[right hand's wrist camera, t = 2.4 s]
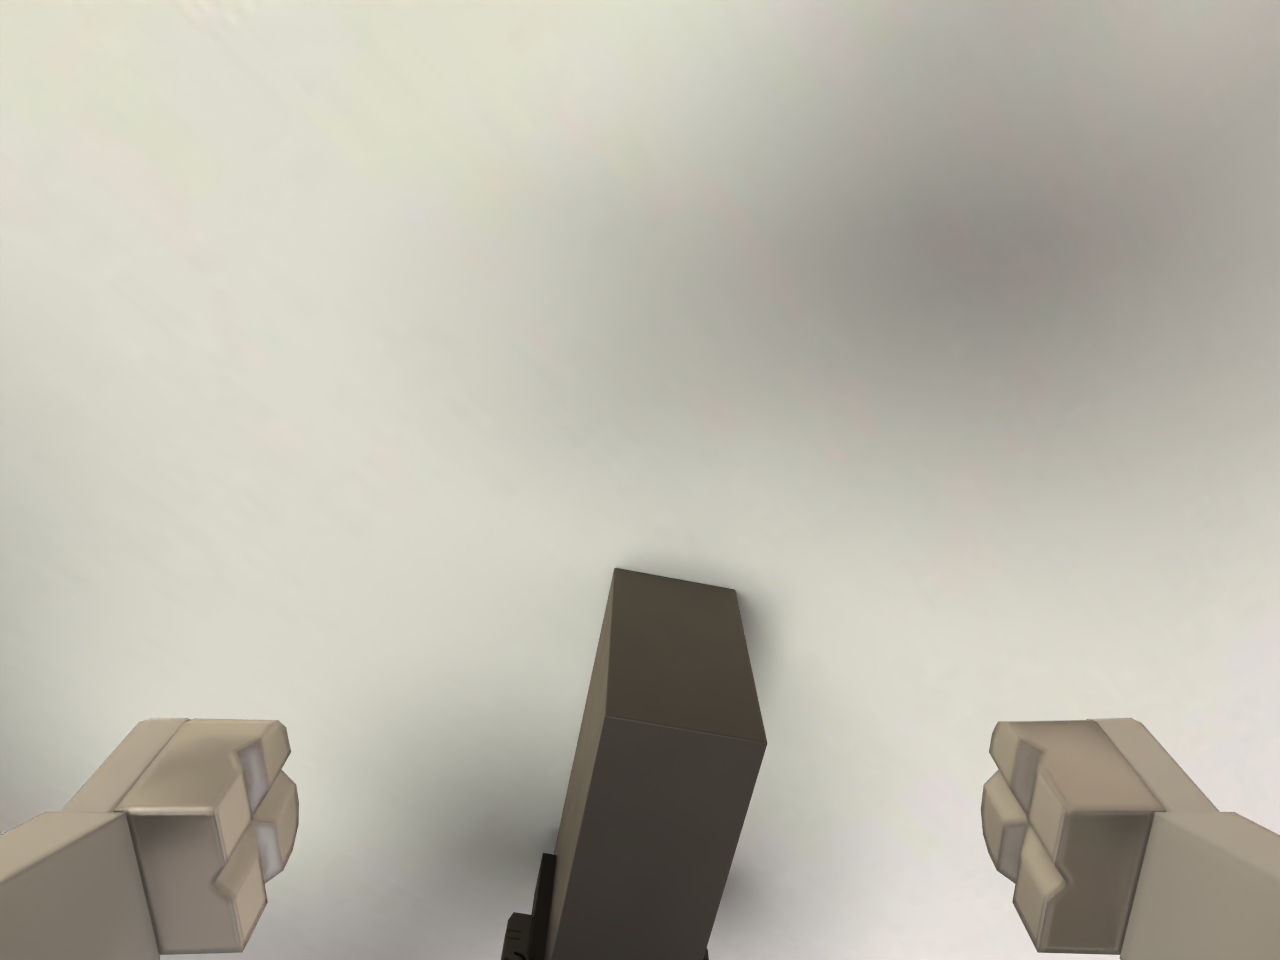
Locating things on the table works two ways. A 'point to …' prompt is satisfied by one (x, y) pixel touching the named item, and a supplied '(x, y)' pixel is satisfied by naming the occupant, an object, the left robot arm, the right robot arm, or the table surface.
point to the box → (656, 775)
